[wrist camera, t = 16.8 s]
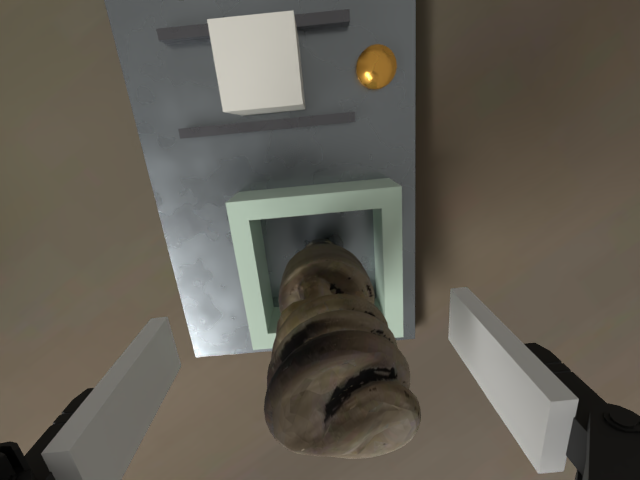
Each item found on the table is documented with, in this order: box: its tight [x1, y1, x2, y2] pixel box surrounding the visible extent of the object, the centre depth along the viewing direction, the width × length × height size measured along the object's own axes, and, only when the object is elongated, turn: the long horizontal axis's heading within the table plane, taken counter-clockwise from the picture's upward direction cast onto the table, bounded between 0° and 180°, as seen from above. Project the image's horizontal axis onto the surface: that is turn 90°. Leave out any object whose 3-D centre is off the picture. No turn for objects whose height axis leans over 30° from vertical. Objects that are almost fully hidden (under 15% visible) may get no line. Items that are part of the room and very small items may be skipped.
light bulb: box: [264, 239, 421, 459], centre depth 17 cm, size 6×6×15 cm
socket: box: [225, 178, 403, 350], centre depth 23 cm, size 10×10×4 cm
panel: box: [104, 0, 416, 357], centre depth 22 cm, size 18×32×2 cm, turn 5°
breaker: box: [207, 10, 306, 116], centre depth 18 cm, size 4×4×5 cm
